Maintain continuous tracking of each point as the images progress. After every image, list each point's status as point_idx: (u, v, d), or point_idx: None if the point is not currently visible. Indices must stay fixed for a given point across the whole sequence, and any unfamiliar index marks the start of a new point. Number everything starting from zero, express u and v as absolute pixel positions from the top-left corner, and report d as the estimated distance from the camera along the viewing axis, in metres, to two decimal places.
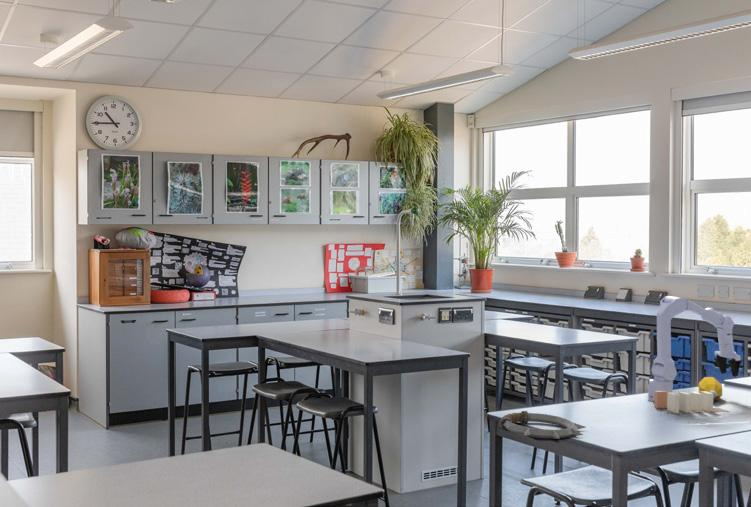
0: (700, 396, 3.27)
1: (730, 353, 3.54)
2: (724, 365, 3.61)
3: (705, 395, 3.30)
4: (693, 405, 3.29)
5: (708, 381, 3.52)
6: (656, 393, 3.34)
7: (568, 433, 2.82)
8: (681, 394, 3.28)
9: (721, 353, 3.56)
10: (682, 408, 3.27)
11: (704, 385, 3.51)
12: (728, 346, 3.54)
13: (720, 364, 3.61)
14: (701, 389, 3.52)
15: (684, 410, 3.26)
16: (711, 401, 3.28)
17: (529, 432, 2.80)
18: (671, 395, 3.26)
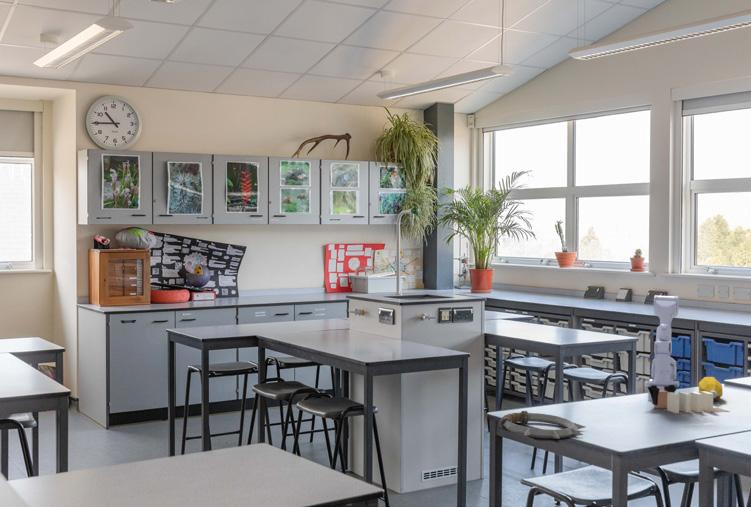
0: (700, 396, 3.27)
1: (655, 380, 3.34)
2: None
3: (705, 395, 3.30)
4: (693, 405, 3.29)
5: (708, 381, 3.53)
6: None
7: (568, 433, 2.82)
8: (681, 394, 3.28)
9: None
10: (682, 408, 3.27)
11: (704, 385, 3.51)
12: (655, 372, 3.34)
13: None
14: (701, 389, 3.52)
15: (684, 410, 3.26)
16: (711, 401, 3.28)
17: (529, 432, 2.80)
18: (671, 395, 3.26)
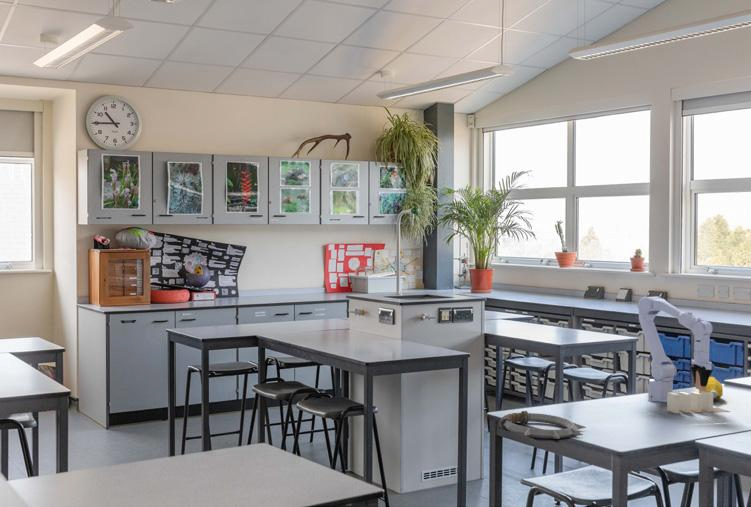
0: (700, 396, 3.27)
1: (703, 361, 3.34)
2: None
3: (705, 395, 3.30)
4: (693, 405, 3.29)
5: (708, 381, 3.53)
6: None
7: (568, 433, 2.82)
8: (681, 394, 3.28)
9: (694, 360, 3.36)
10: (682, 408, 3.27)
11: None
12: (702, 354, 3.34)
13: (695, 373, 3.39)
14: None
15: (684, 410, 3.26)
16: (711, 401, 3.28)
17: (529, 432, 2.80)
18: (671, 395, 3.26)
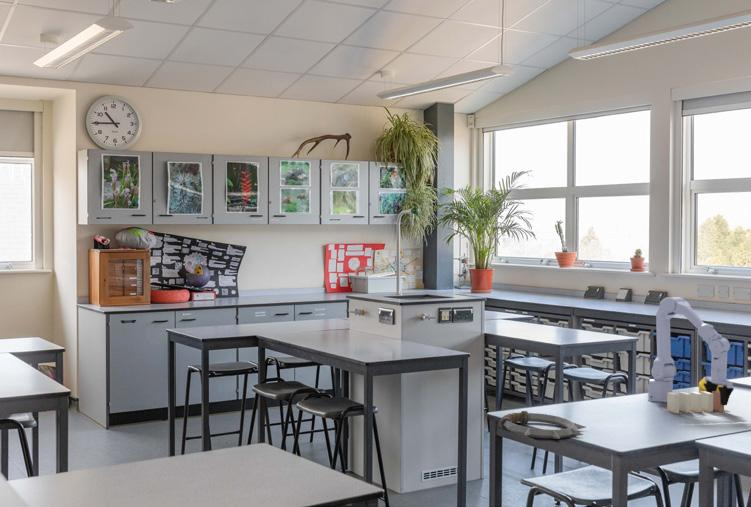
0: (700, 396, 3.27)
1: (722, 379, 3.29)
2: None
3: (705, 395, 3.30)
4: (693, 405, 3.29)
5: None
6: None
7: (568, 433, 2.82)
8: (681, 394, 3.28)
9: (712, 378, 3.31)
10: (682, 408, 3.27)
11: None
12: (721, 372, 3.28)
13: (709, 391, 3.35)
14: (702, 389, 3.53)
15: (684, 410, 3.26)
16: (711, 401, 3.28)
17: (529, 432, 2.80)
18: (671, 395, 3.26)
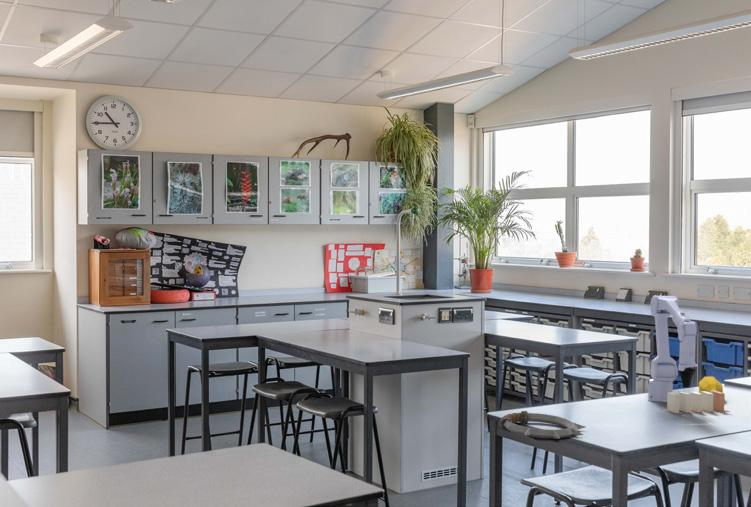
0: (700, 396, 3.27)
1: (683, 363, 3.26)
2: None
3: (705, 395, 3.30)
4: (693, 405, 3.29)
5: (709, 381, 3.53)
6: (723, 395, 3.29)
7: (568, 433, 2.82)
8: (681, 394, 3.28)
9: None
10: (682, 408, 3.27)
11: (705, 385, 3.52)
12: (682, 355, 3.26)
13: None
14: (702, 389, 3.53)
15: (684, 410, 3.26)
16: (711, 401, 3.28)
17: (529, 432, 2.80)
18: (671, 395, 3.26)
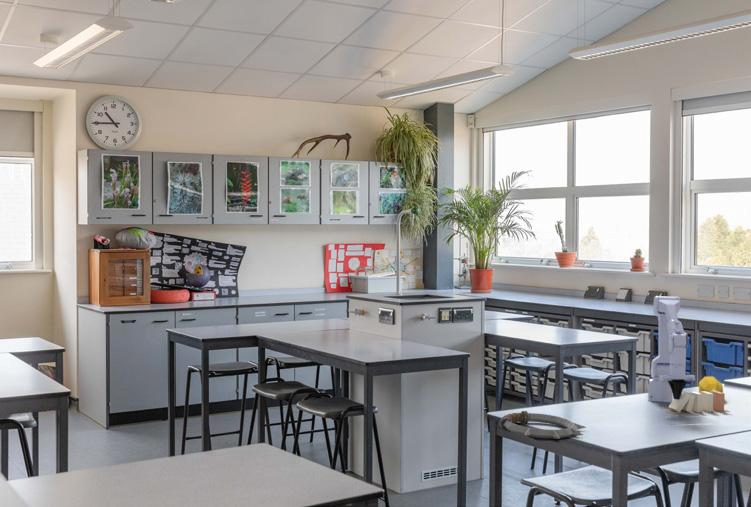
0: (700, 396, 3.27)
1: (670, 374, 3.27)
2: None
3: (705, 395, 3.30)
4: (693, 405, 3.29)
5: (709, 381, 3.53)
6: (723, 395, 3.29)
7: (568, 433, 2.82)
8: (685, 393, 3.29)
9: None
10: (683, 407, 3.27)
11: (705, 385, 3.52)
12: (670, 366, 3.27)
13: None
14: (702, 389, 3.53)
15: (685, 409, 3.26)
16: (711, 401, 3.28)
17: (529, 432, 2.80)
18: (681, 395, 3.27)
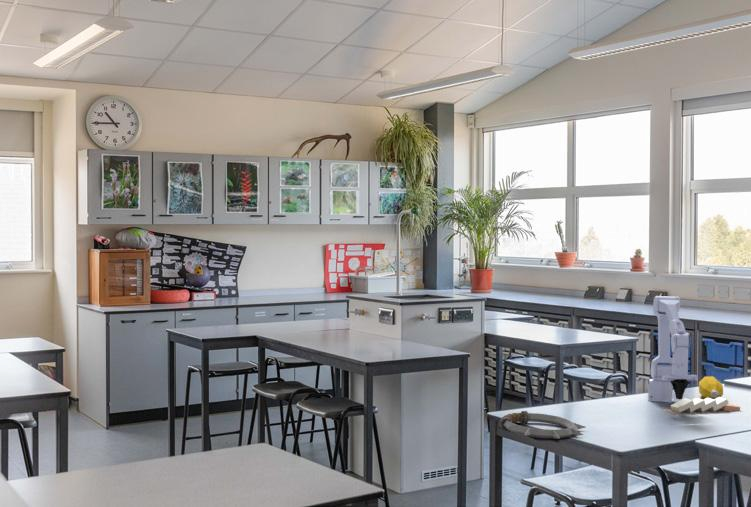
0: (714, 403, 3.28)
1: (672, 374, 3.27)
2: None
3: (720, 399, 3.32)
4: None
5: (709, 381, 3.53)
6: (738, 410, 3.31)
7: (568, 433, 2.82)
8: (697, 399, 3.30)
9: None
10: None
11: (705, 385, 3.52)
12: (672, 366, 3.27)
13: None
14: (702, 389, 3.53)
15: None
16: (721, 405, 3.29)
17: (529, 432, 2.80)
18: (687, 399, 3.28)
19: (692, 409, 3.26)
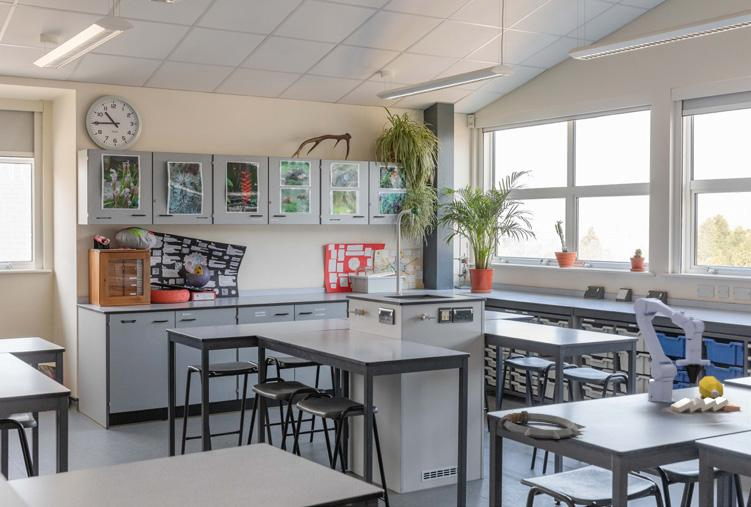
0: (714, 403, 3.28)
1: (686, 359, 3.37)
2: None
3: (720, 399, 3.32)
4: None
5: (709, 380, 3.54)
6: (738, 410, 3.31)
7: (568, 433, 2.82)
8: (697, 399, 3.30)
9: None
10: None
11: (705, 384, 3.53)
12: (686, 351, 3.38)
13: (691, 372, 3.39)
14: (702, 388, 3.53)
15: None
16: (721, 405, 3.29)
17: (529, 432, 2.80)
18: (687, 399, 3.28)
19: (692, 409, 3.26)
